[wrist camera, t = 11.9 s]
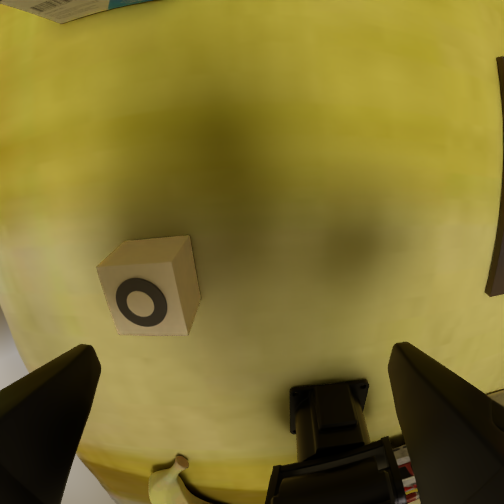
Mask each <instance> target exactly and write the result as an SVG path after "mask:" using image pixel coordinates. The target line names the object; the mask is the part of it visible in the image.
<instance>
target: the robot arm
mask: <svg viewBox="0 0 504 504" xmlns="http://www.w3.org/2000/svg"><path fill="white" fill-rule="evenodd" d="M100 373H101V364H100V362H99V360H98V357H97V355H96V352H95V350H94V348H93V347H92V346H91V345H86V344H80V345H78V346H76V347H74V348H73V349H71V350H69V351H67V352H66V353H64V354H62V355H61V356H59V357H57V358H55V359H54V360H52V361H50V362H48V363H47V364H45V365H43V366H41V367H40V368H38V369H36V370H35V371H33V372H31V373H29V374H28V375H26V376H25V377H23V378H21V379H19V380H17V381H16V382H14V383H12V384H11V385H9V386H7V387H6V388H4V389H2V390H0V504H61V500H62V497H63V493H64V490H65V486H66V483H67V479H68V476H69V473H70V469H71V466H72V463H73V460H74V457H75V454H76V451H77V448H78V445H79V442H80V439H81V436H82V433H83V430H84V427H85V425H86V422H87V419H88V416H89V413H90V410H91V407H92V403H93V399H94V395H95V392H96V388H97V384H98V381H99V377H100ZM388 373H389V378H390V383H391V387H392V392H393V397H394V403H395V408H396V413H397V417H398V420H399V424H400V427H401V430H402V434H403V437H404V440H405V444H406V447H407V451H408V454H409V458H410V462H411V465H412V469H413V473H414V477H415V481H416V485H417V489H418V493H419V497H420V501H421V504H504V406H502V405H501V404H499V403H498V402H496V401H495V400H492V399H491V398H490V397H489V396H487V395H486V394H485V393H483V392H482V391H480V390H479V389H477V388H476V387H474V386H473V385H471V384H470V383H468V382H467V381H465V380H464V379H462V378H461V377H459V376H458V375H457V374H455V373H454V372H452V371H451V370H449V369H448V368H446V367H445V366H443V365H442V364H440V363H439V362H437V361H436V360H434V359H433V358H431V357H430V356H428V355H427V354H425V353H424V352H422V351H421V350H419V349H418V348H416V347H415V346H413V345H412V344H410V343H409V342H401V343H396V344H394V346H393V349H392V353H391V356H390V360H389V364H388ZM368 388H369V383H368V381H367V380H365V379H362V380H355V381H348V382H340V383H331V384H322V385H312V386H300V387H293V388H291V389H290V391H289V393H290V432H291V433H292V434H296V440H297V457H298V463H293V464H288V465H282V466H281V465H276V466H273V471H272V475H271V477H270V482H269V487H268V492H267V496H266V501H265V504H407V499H406V494H405V489H404V485H403V481H402V477H401V474H400V471H399V467H398V464H397V461H396V458H395V455H394V452H393V449H392V446H391V443H390V440H389V437H388V436H386V437H384V438H381V440H378V441H375V442H372V443H371V442H370V438H369V435H368V431H367V427H366V423H365V419H364V415H363V409H364V405H365V401H366V397H367V393H368ZM295 392H297V393H295Z"/></svg>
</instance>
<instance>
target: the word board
mask: <svg viewBox="0 0 504 504" xmlns="http://www.w3.org/2000/svg"><path fill="white" fill-rule="evenodd" d="M497 64H498V71H499V78H500V87H501V97H502V109H503V131H504V57H503V56H502V57H497ZM485 293H486V294H487V295H488V296H489V297H492V296H497V295H501V294H504V161H503V183H502V196H501V206H500V215H499V223H498V230H497V237H496V243H495V249H494V254H493V259H492V264H491V269H490V274H489V278H488V282H487V286H486V290H485Z"/></svg>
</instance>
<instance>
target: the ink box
mask: <svg viewBox="0 0 504 504" xmlns="http://www.w3.org/2000/svg"><path fill="white" fill-rule="evenodd" d="M146 1H152V0H0V4H4V5H7V6H10V7H14V8H17V9H20V10H23V11H26V12H29V13H32V14H35V15H38V16H41V17H44V18H47V19H50V20H52V21H55V22H57V23H60V24H62V23H66V22H68V21H71V20H75V19H78V18H81V17H84V16H87V15H91V14H94V13H98V12H101V11H105V10H110V9H113V8H117V7H122V6H126V5H131V4H136V3H141V2H146Z"/></svg>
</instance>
